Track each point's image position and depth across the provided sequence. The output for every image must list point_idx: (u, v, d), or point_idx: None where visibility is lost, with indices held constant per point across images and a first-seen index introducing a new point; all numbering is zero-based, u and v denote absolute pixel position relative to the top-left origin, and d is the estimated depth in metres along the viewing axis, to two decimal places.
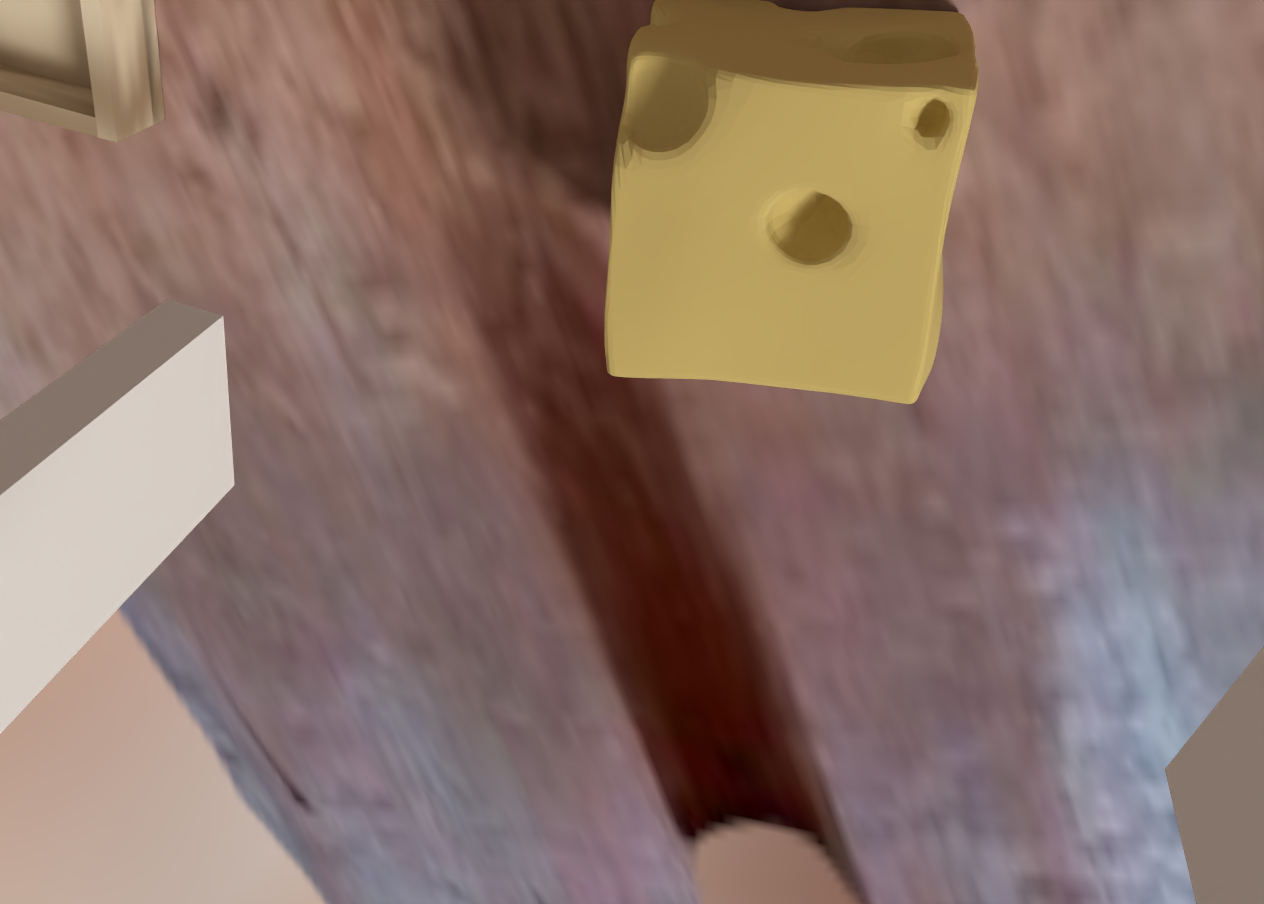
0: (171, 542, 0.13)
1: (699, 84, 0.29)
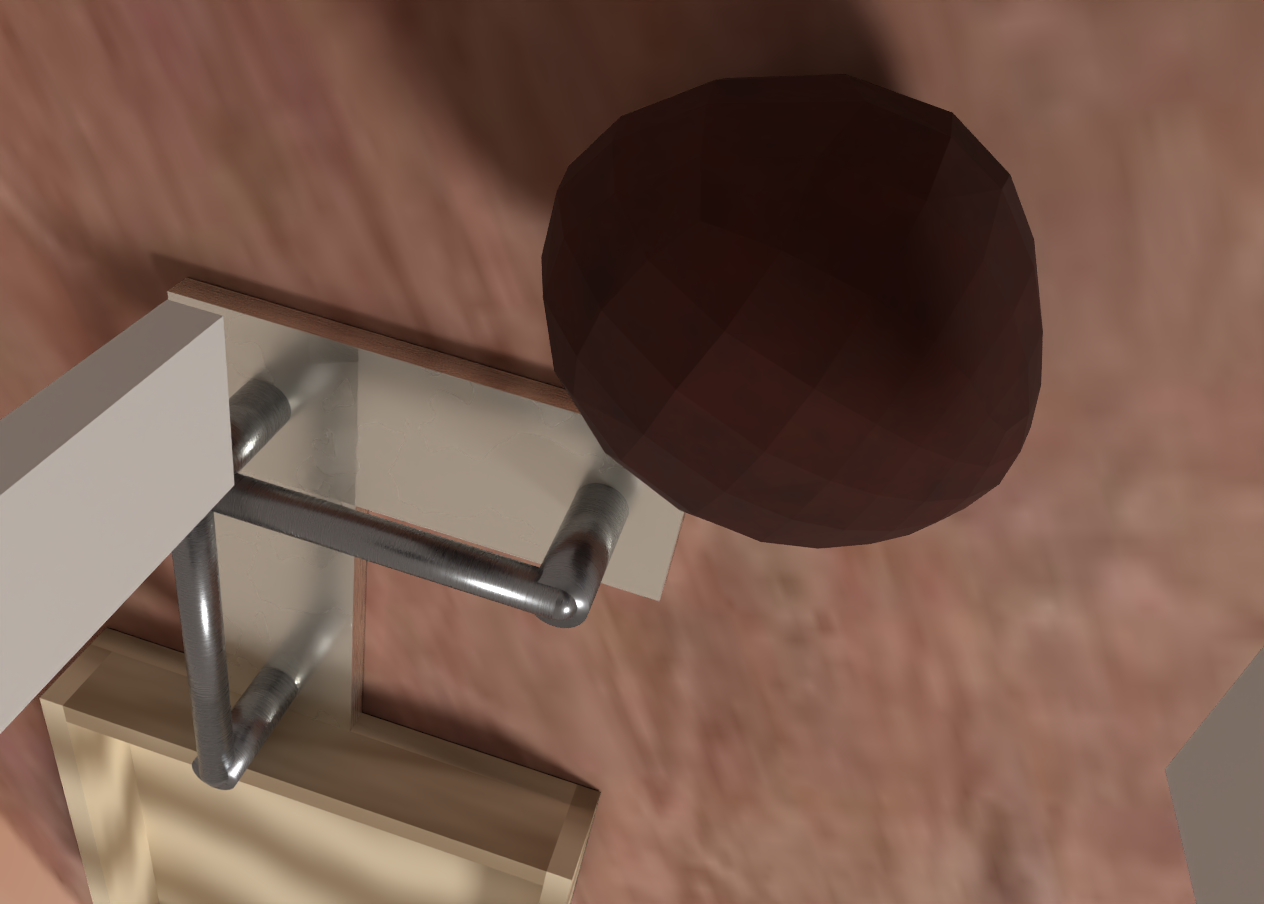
0: (171, 542, 0.13)
1: None
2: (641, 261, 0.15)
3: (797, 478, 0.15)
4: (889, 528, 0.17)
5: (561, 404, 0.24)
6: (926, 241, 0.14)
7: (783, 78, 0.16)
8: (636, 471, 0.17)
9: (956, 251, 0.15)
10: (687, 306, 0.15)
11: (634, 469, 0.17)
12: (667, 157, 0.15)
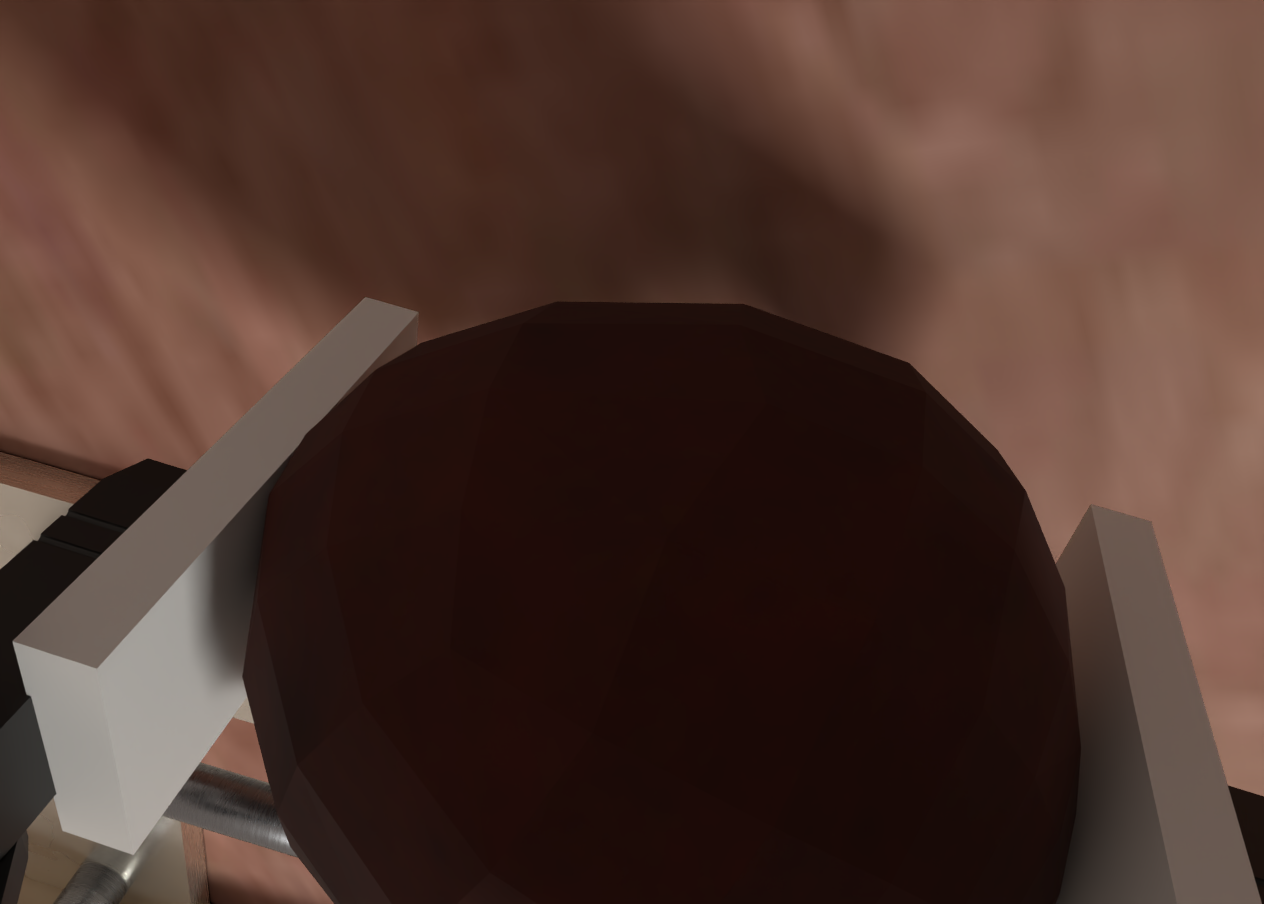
0: None
1: None
2: (355, 702, 0.08)
3: None
4: None
5: None
6: (875, 696, 0.08)
7: (633, 328, 0.09)
8: None
9: (932, 703, 0.08)
10: (430, 806, 0.08)
11: None
12: (413, 494, 0.09)
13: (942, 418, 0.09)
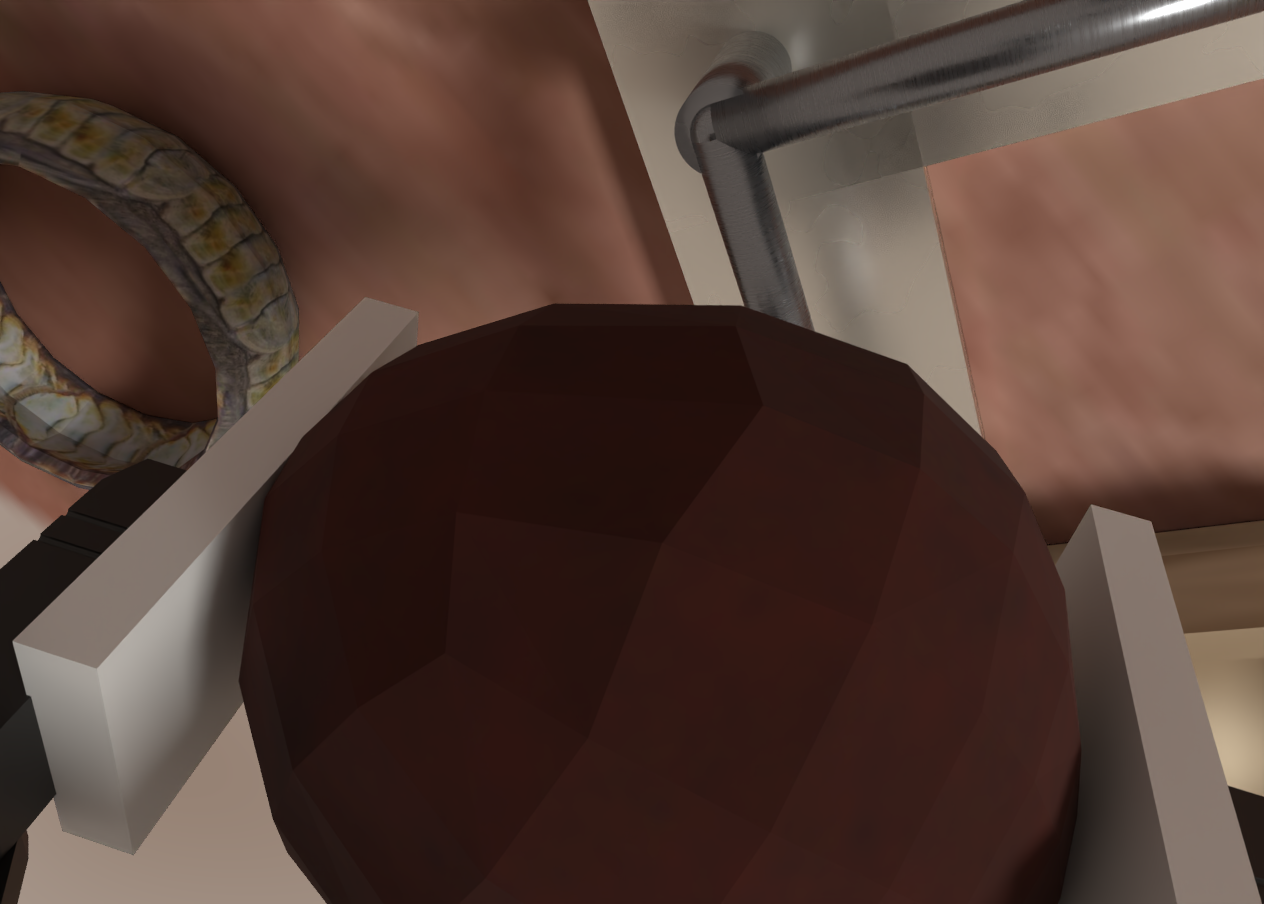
0: None
1: None
2: (349, 706, 0.08)
3: None
4: None
5: None
6: (872, 699, 0.07)
7: (630, 330, 0.09)
8: None
9: (930, 707, 0.08)
10: (424, 811, 0.08)
11: None
12: (407, 496, 0.08)
13: (940, 419, 0.09)
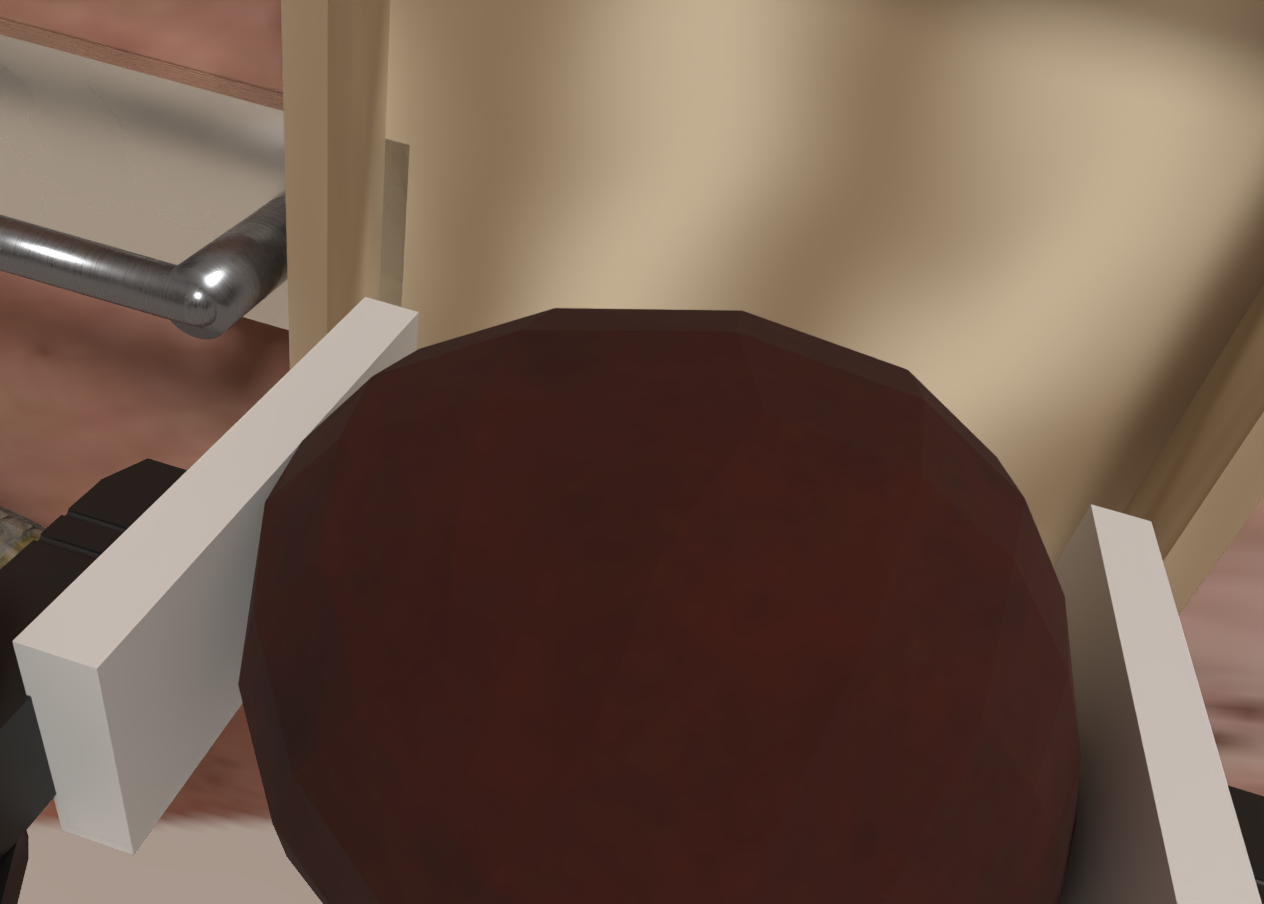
0: None
1: None
2: (349, 712, 0.08)
3: None
4: None
5: None
6: (873, 707, 0.07)
7: (631, 335, 0.09)
8: None
9: (929, 713, 0.08)
10: (425, 817, 0.08)
11: None
12: (409, 501, 0.08)
13: (941, 426, 0.09)
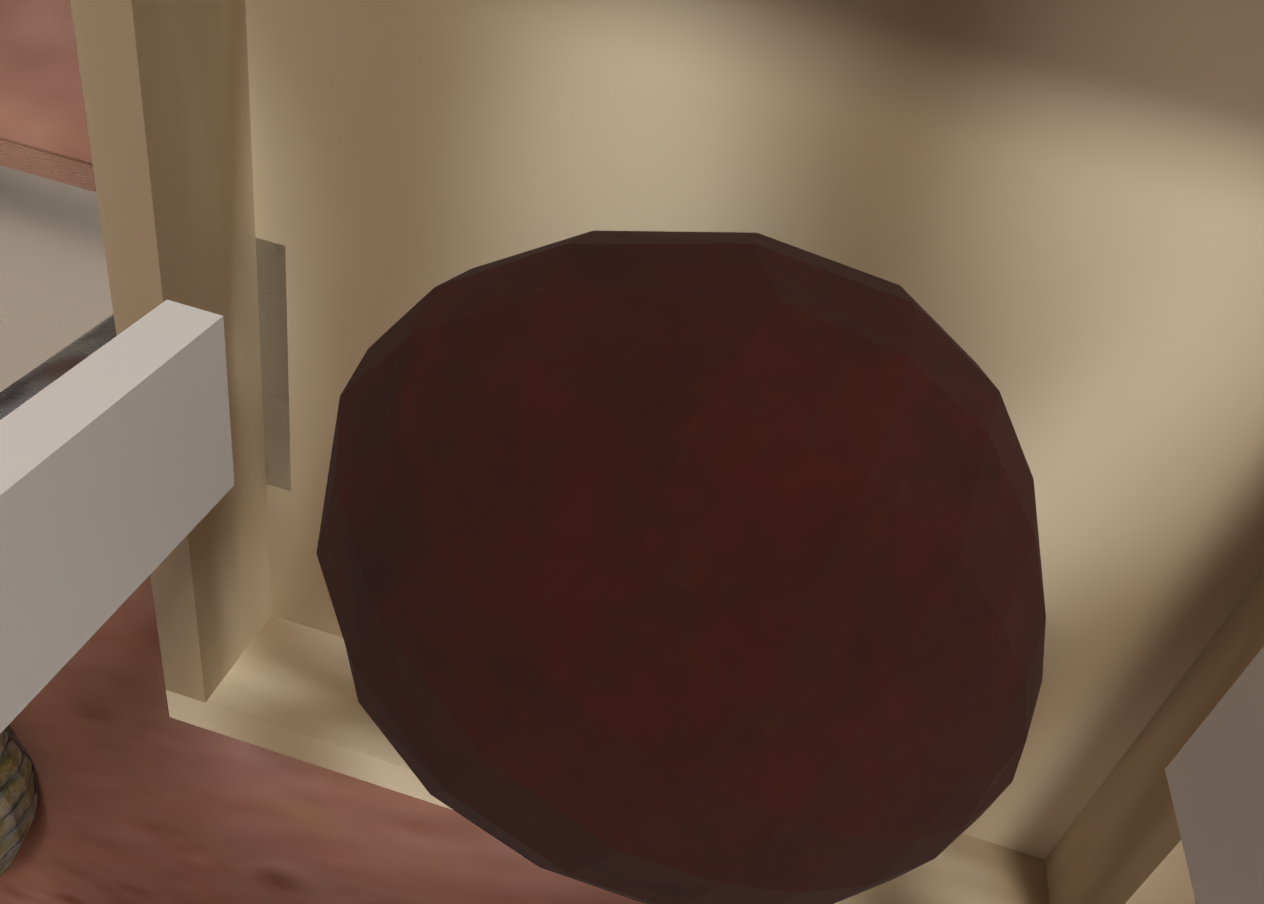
0: (171, 542, 0.13)
1: None
2: (428, 552, 0.10)
3: (674, 876, 0.10)
4: None
5: None
6: (869, 539, 0.09)
7: (663, 246, 0.11)
8: (453, 809, 0.12)
9: (916, 549, 0.09)
10: (494, 633, 0.09)
11: (450, 806, 0.12)
12: (476, 379, 0.10)
13: (928, 324, 0.11)
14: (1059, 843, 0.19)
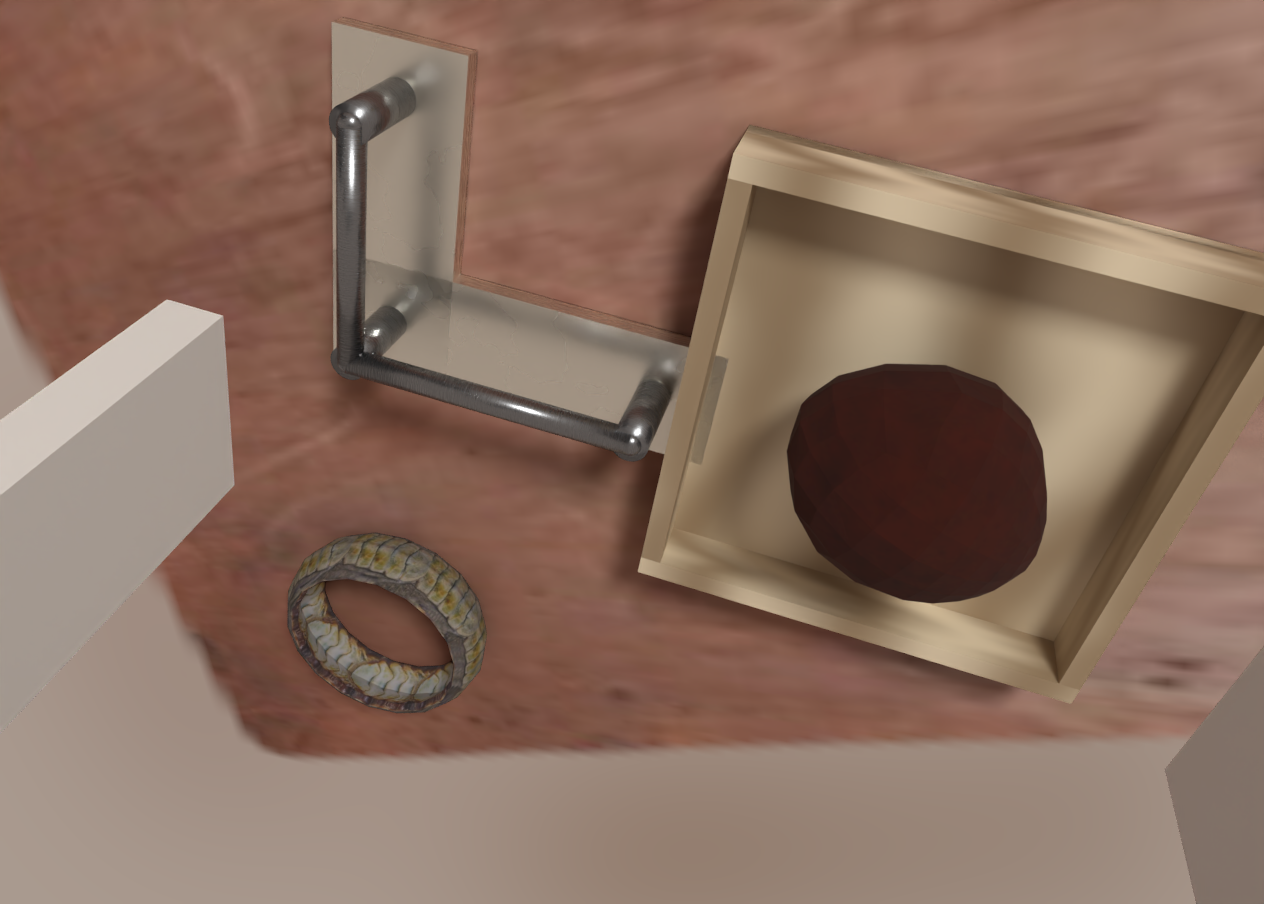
0: (171, 542, 0.13)
1: None
2: (856, 469, 0.32)
3: (929, 571, 0.32)
4: (970, 594, 0.33)
5: None
6: (992, 463, 0.31)
7: (918, 372, 0.33)
8: (841, 564, 0.34)
9: (1006, 467, 0.31)
10: (880, 491, 0.31)
11: (840, 563, 0.34)
12: (865, 416, 0.32)
13: (1007, 398, 0.33)
14: (1060, 631, 0.41)
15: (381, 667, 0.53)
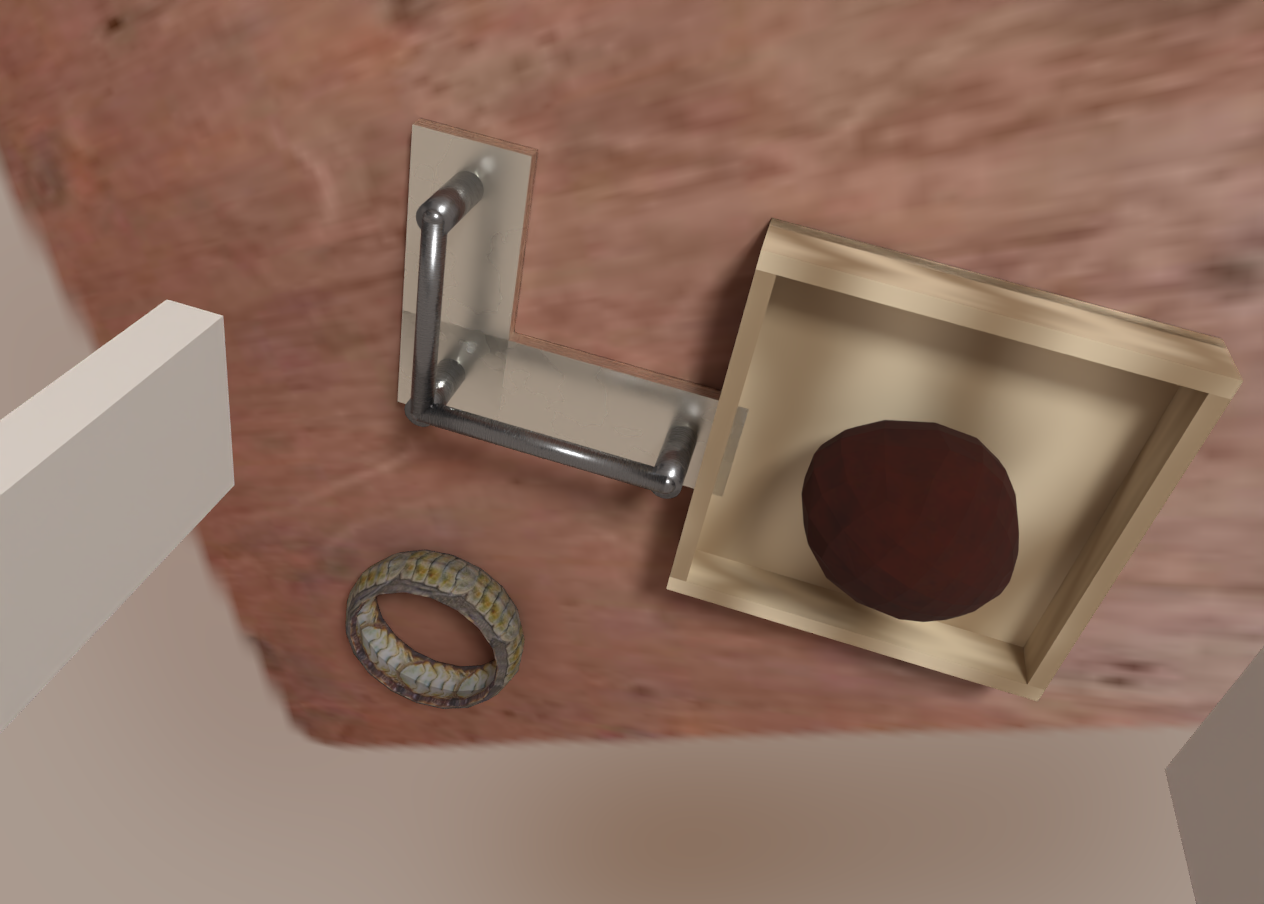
0: (171, 542, 0.13)
1: None
2: (862, 513, 0.38)
3: (921, 597, 0.38)
4: (955, 615, 0.40)
5: (410, 203, 0.43)
6: (975, 509, 0.37)
7: (913, 430, 0.39)
8: (847, 589, 0.40)
9: (985, 512, 0.38)
10: (882, 533, 0.38)
11: (846, 589, 0.40)
12: (870, 468, 0.38)
13: (986, 452, 0.39)
14: (1029, 638, 0.48)
15: (426, 667, 0.59)
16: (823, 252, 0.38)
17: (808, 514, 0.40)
